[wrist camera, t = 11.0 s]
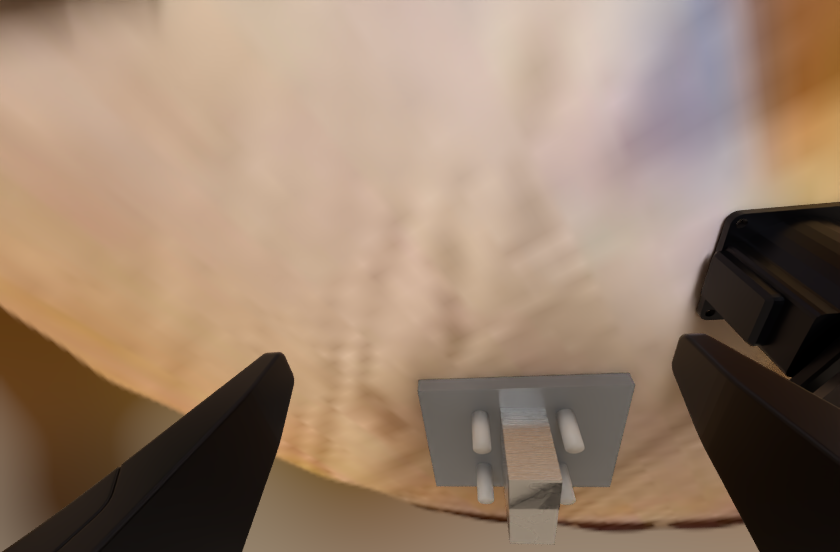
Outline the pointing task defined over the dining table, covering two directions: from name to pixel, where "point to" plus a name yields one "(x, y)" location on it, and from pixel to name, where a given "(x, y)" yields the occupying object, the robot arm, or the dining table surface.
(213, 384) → the dining table surface
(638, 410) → the dining table surface
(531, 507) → the block
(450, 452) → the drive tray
